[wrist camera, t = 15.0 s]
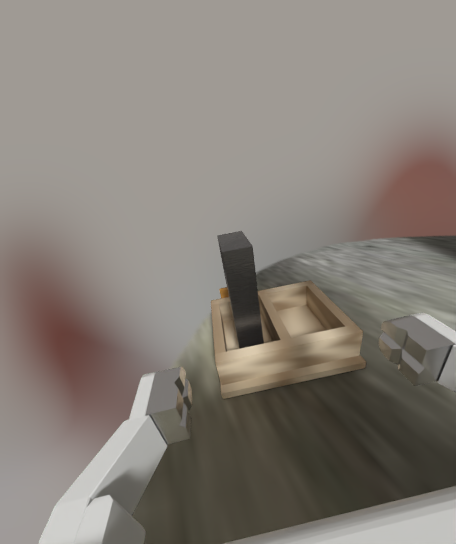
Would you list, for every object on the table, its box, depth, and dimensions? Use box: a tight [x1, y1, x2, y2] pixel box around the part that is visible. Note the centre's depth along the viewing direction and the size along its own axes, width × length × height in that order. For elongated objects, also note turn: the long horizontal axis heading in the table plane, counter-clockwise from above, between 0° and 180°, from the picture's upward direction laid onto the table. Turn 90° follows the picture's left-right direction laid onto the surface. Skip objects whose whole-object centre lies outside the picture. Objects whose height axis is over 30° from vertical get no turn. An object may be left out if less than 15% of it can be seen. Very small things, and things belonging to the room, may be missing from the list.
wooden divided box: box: [211, 280, 366, 399], centre depth 24 cm, size 14×12×5 cm
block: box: [218, 231, 264, 349], centre depth 22 cm, size 2×5×12 cm, turn 8°
